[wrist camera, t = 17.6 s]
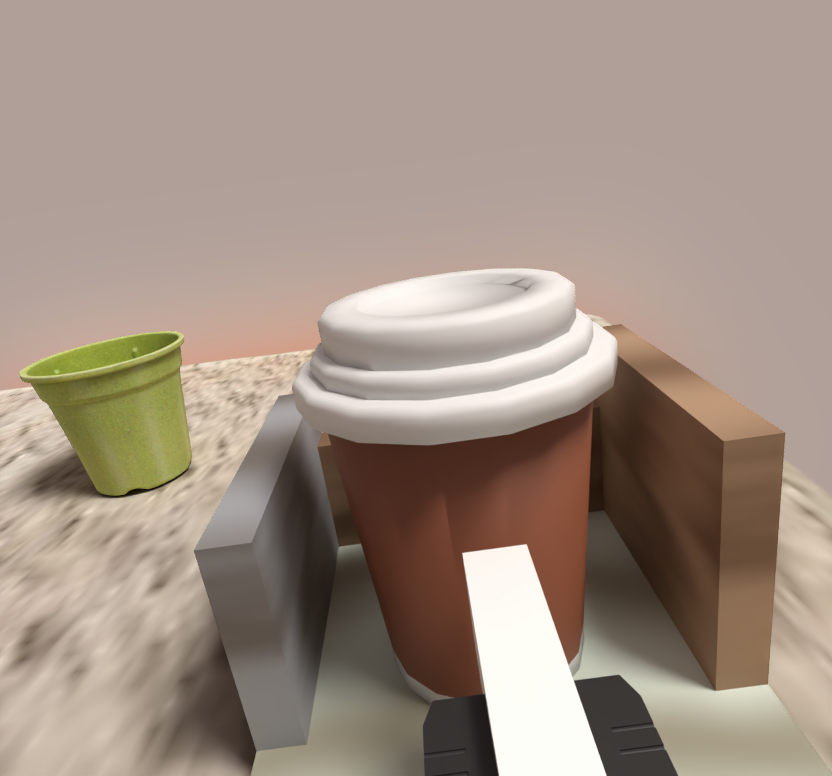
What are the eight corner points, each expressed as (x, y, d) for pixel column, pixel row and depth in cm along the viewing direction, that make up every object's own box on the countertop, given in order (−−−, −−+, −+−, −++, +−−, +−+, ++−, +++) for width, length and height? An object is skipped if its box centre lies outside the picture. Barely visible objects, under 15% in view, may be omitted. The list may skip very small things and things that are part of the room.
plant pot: (38, 499, 39) (-12, 374, 36) (159, 438, 46) (125, 330, 43) (127, 523, 34) (77, 380, 31) (245, 450, 42) (214, 330, 39)
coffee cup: (319, 752, 17) (214, 356, 13) (387, 558, 26) (335, 280, 22) (653, 771, 15) (647, 317, 11) (609, 555, 24) (596, 249, 20)
